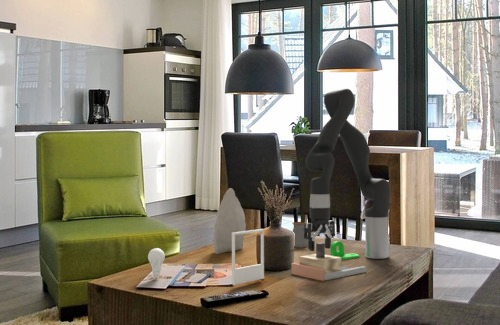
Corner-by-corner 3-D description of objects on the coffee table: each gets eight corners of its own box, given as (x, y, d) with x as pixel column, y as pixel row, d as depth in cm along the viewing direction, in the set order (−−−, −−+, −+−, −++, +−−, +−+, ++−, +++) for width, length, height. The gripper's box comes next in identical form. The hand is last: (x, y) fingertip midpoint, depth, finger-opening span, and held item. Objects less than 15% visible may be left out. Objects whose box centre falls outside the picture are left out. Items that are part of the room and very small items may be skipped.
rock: (220, 259, 259) (220, 189, 258) (206, 257, 265) (205, 188, 264) (252, 253, 273) (251, 187, 272) (237, 251, 279) (237, 186, 278)
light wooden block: (318, 268, 235) (318, 240, 235) (341, 273, 226) (341, 244, 225) (299, 272, 228) (299, 243, 228) (323, 277, 219) (322, 247, 219)
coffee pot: (281, 250, 282) (281, 218, 281) (298, 247, 290) (298, 216, 289) (317, 256, 266) (317, 221, 266) (333, 252, 274) (333, 219, 274)
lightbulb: (167, 277, 224) (167, 247, 224) (160, 280, 218) (159, 250, 218) (153, 276, 226) (152, 246, 226) (145, 279, 220) (144, 249, 220)
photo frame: (261, 278, 222) (261, 228, 221) (264, 278, 221) (263, 229, 221) (231, 284, 212) (231, 232, 212) (233, 284, 211) (233, 233, 211)
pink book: (334, 265, 244) (334, 255, 244) (365, 271, 232) (365, 261, 231) (291, 273, 229) (291, 263, 229) (322, 280, 216) (322, 269, 216)
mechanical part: (339, 262, 252) (339, 243, 252) (330, 260, 257) (330, 241, 257) (362, 259, 258) (362, 241, 258) (352, 257, 263) (352, 239, 263)
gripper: (325, 204, 234) (325, 246, 234) (299, 206, 225) (298, 250, 225) (340, 205, 228) (340, 248, 229) (313, 208, 219) (313, 252, 219)
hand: (319, 249), depth 227 cm, fingers open, 8 cm apart
